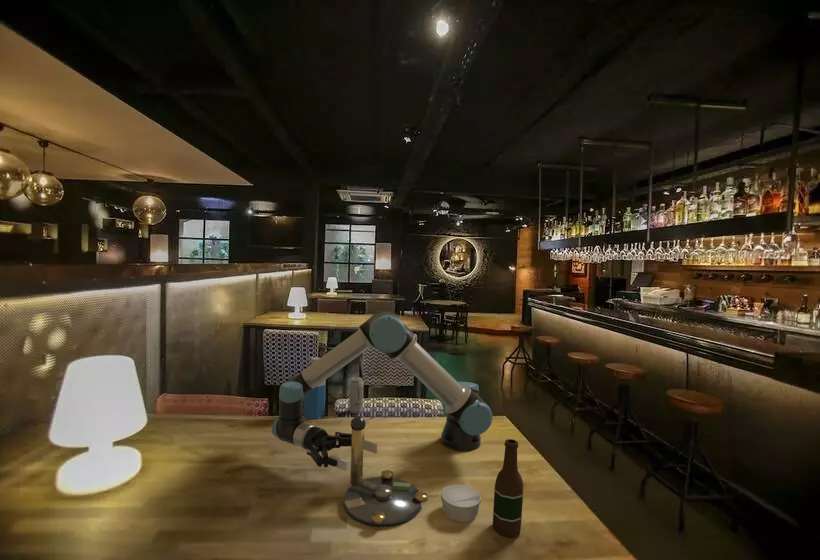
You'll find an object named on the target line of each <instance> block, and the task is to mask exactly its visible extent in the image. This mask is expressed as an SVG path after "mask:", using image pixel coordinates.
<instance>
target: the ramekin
mask: <svg viewBox="0 0 820 560" xmlns="http://www.w3.org/2000/svg"><path fill="white" fill-rule="evenodd" d="M440 499H441V505H442V512H443V513H444V515H445V516H446V517H447V518H448V519H449V520H450V521H453V522H456V523H468V522H471V521H473V520H474V519H475V518H476V517H477V516H478V512H479V507H480V504H481V502H482V498H481V495H480V493H479V492H478V491H477V490H476V489H475V488H473V487H471V486H469V485H465V484H451V485H448V486H444V487H443V488H442V490H441V493H440Z"/></svg>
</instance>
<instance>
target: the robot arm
mask: <svg viewBox="0 0 820 560" xmlns="http://www.w3.org/2000/svg"><path fill="white" fill-rule="evenodd" d="M370 348H371V349H375V348H376V349H377V350H379V351H380V352H383V353H384V354H385V355H386V356H387V357H388V358H389V359H390V360H392V361H393V360H397V361H399V362H400V363H401V364H402V365H403V366H404V367H406V369H407V370H408V371H409V372H411V373H412V375H413V376H414V377H416V378H417V380H418V381H419V382H421V384H423V385H424V386H425V387H426V388H427V389H428V390H429V391H430V392H431V393H432V394H433V395H434V396H435V397H437V398H438V400H439V401H441V402H442V403H443V404H444V405H445V412H446V421H445V424H444V426H443V428H442V432H441V435H440V441H441V442H440V443H441V444H442V445H443V446H445V447H447V448H448V449H451V450H455V451H464V452H465V451H466V452H467V451H472V450H476V449H478V448H479V447H481V442H482V441H481V440H482V437H481V435H482V434H485V432H487V431H488V430H489V429H490V427H491V425H492V424H493V423H492V422H493V417H494V415H493V413H492V409H491V407H490V406H489V405H488V404H487V403H486V402H485V401H484V399H482V397H480V396H479V392H480V389H479V384H476V383H475V382H471V381H470V382H468V381H457V380H456V379H455V378H454V377H453V376H452V375H451V374H450V373H449V372H448V371H447V370H446V369H445V368H444V367H443V366H442V365H440V363H439V362H438V361H437V360H435V359H434V358H433V356H431V355H430V354H429V353H428V351H426V350H425V349H424V348H423V347H422V346H421V345H420V344H419V343H418V342H417V341H416V333H414V332H413V331H412V330H411V329H410V328H409V327H408V326H407V325H406V324H405V323H404V322H403V321H402V319H400V317H399V316H398V315H397V314H396V313H395V312H393V311H391V310H386V309H385V310H380V311H377V312H375V313H373V314H372V315H371V316H370V317H369V318H368V319H366V320H365V321H364V322H363V323H361V324H360V325H359V326H358V329H357V331H355V332H354V333H352V334H351V335H350V336H349V337H347V338H346V339H345V340H343V341H342V342H340V343H339V344H337V345H336V346H335V347H334V348H332V349H331V350H329V351H328V352H326V353H325V354H323V356H321V357H319V358H320V359H319V360H317V361H316V362H314V363H313V364H312V365H310V364H309V365H310V366H309V365H308V366H309V367H308V366H307V367H308V368H307V367H306V368H305V369H304V370H301V372H300V373H298V374H296V375H293V376H291V377H290V378H289V379H288V380H287V381H286V382H284V383H282V384H280V385H279V394H278V397H279V398H278V401H279V402H278V404H279V405H278V406H279V409H278V415H279V416H277V417H276V418H275V419H274V420H273V424H272V425H271V433H272V435H273V436H274V438H277V439H278V440H280V441H282V442H286V443H288V444H291V445H293V446H296V447H299V448H301V449H303V450H305V451H306V455H308V456H310V457H311V459H312V460H313V461H314V463H315V464H316V466H317V467H320V468H321V467H324V469H325V468H328V467H329V466H331V467H334V468H337V469H339V470H342V471H344V472H348V470H349V461H348V460H346V459H345V458H341V457H339V456H336V455H334V454H329V453H328V452H330V451H332V450H333V449H340V448H341V447H351V440H352V433H345V432H339V431H335V432H334V433H335V434H334V435H331V434H328V432H327V431H326V430H325V429H324V428H322V427H318V426H315V425H313V424H310V423H306V422H304V421H303V408H304V396H305V395H306V394H307V393H309V392H310V391H311V390H313V389H314V388H315V387H317V386H318V385H319V384H321V383H322V382H323V381H325V380H326V381H327V379H328V378H330V377H331V376H333V375H335V374H336V373H337V372H339V370H341V369H342V368H343V367H345V366H346V365H348V364H349V363H351V362H352V361H353V360H355V359H356V358H358V357H359V356H361V355H362V354H363V353H365V352H366V351H367V350H368V349H370ZM364 450H365V451H368V452H370V453H373V454H378V444H377V443H375V442H372V441H369V440H366V439H364V446H363V451H364ZM320 453H321V454H320Z"/></svg>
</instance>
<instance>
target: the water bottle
mask: <svg viewBox="0 0 820 560" xmlns="http://www.w3.org/2000/svg"><path fill="white" fill-rule="evenodd" d="M320 358H321V357H316V356H315V357H310V363H309V365H308V366H307V367H306V368H308V367H309V366H310V365H312V364H313V363H314V362H316V361H317V360H319V359H320ZM326 381H327V379H326V380H325V381H323V382H322V383H321V384H319V385H318V386H317V387H315V388H314V389H313V390H311V391H310V392H309V393H307V394H306V395H305V396H304V399H303V407H302V418H305V419H307V420H318V419H320V418H319V417H322V418H324V417H325V414H326V385H327V384H326Z"/></svg>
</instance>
